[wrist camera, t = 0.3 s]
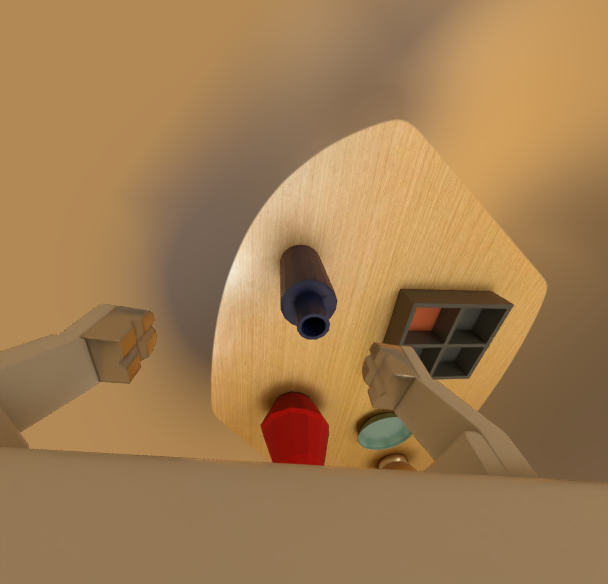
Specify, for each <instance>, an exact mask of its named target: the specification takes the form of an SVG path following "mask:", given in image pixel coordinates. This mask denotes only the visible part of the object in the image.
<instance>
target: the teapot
mask: <svg viewBox="0 0 608 584" xmlns="http://www.w3.org/2000/svg"><path fill="white" fill-rule="evenodd" d="M378 467H379V469H388V470H405V471H417V470H416V469H415V468H413V467H412V466H411V465H409V464H407V460H406V458H405V457H404V456H402V455H399V454H393V455H389V456H386V457H384V458H383V459H381V460H380V462H379V464H378Z"/></svg>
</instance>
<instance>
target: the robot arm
mask: <svg viewBox="0 0 608 584" xmlns="http://www.w3.org/2000/svg"><path fill="white" fill-rule="evenodd" d="M154 321H155V319H154V313H153V312H151V311H148V310H141V309H135V308H129V307H123V306H115V305H109V304H100V305H97V306H96V307H95V308H93V309H92V310H91V311H89V312H88V313H87V314H85V315H84V316H83V317H81V318H80V319H79V320H77V321H76V322H75V323H73V324H72V325H71V326H70V327H68V328H67V329H66V330H64V331H63V332H62V333H60V334H59V335H49V336H46V337H43V338H40V339H37V340H34V341H31V342H28V343H25V344H22V345H19V346H16V347H12V348H9V349H6V350H3V351H0V584H608V482H596V481H595V482H594V481H578V480H560V479H543V478H539V476H538V475H537V474H536V473H535V471H534V470H533V469H532V467H531V466H530V465H529V463H528V462H527V461H526V460H525V458H524V457H523V455H522V454H521V453H520V452H519V450H518V449H517V448H516V446H515V445H514V444H513V442H511V440H510V438H509V437H508V436H507V434H506V433H504V432H503V431H502V430H500V429H499V428H498V427H497V426H495V425H494V424H493V423H492V422H490V421H489V420H487V419H486V418H485V417H484V416H482V415H481V414H480V413H479V412H477V411H476V410H475V409H473V408H472V407H471V406H469V405H468V404H467V403H466V402H464V401H463V400H462V399H460V398H459V397H458V396H456V395H455V394H454V393H453V392H451V391H450V390H449V389H447V388H446V387H445V386H443V385H442V384H441V383H440V382H438V381H437V380H433V379H432V377H431V376H430V374H429V373H428V371H427V369H426V368H425V366H424V365H423V363H422V361H421V360H420V358H419V357H418V355H417V353H416V352H415V350H414V349H413V348H412V347H409V346H401V345H398V346H397V345H390V344H383V343H375V342H374V343H373V344H372V345H371V347H370V349H369V350H370V352H371V354H370V355H369V356H367V357H366V358H365V360H364V362H363V367H362V374H363V379H364V382H365V383H366V384H367V385H368V386H369V389H368V395H369V398H370V401H371V404H372V407H373V408H380V409H388V410H394V412H395V413H396V415H397V416H398V417H399V418H400V420H401V421H402V422H403V423H404V424H405V426H406V427H407V428H408V429H409V430H410V432H411V433H412V434H413V435H414V436H415V438H416V439H417V440H418V441H419V442H420V444H421V445H422V446H423V447H424V448H425V450H426V451H427V452H428V453H429V454H430V456H431V457H432V458H433V459H434V460H435V461H434V462H433V463H432V464H431V465H430V466H429V467H428V468H427V471H426V472H423V471H405V470H388V469H371V468H354V467H337V466H320V465H303V464H286V463H269V462H252V461H234V460H217V459H200V458H199V459H198V458H182V457H164V456H147V455H131V454H113V453H112V454H111V453H96V452H79V451H62V450H44V449H29V445H28V443H27V442H26V440H25V439H24V438H23V436H22V435H21V434H20V432H22V431H24V430H25V429H27V428H28V427H30V426H32V425H33V424H35V423H36V422H38V421H40V420H41V419H43V418H44V417H46V416H48V415H49V414H51V413H52V412H54V411H56V410H57V409H59V408H60V407H62V406H64V405H65V404H67V403H68V402H70V401H72V400H73V399H75V398H76V397H78V396H80V395H81V394H83V393H85V392H86V391H88V390H89V389H91V388H93V387H94V386H96V385H97V384H99V382H112V383H126V384H129V383H130V382H131V381H132V379H133V378H134V376H135V375H136V374H137V372H138V371H139V370H140V368H141V363H140V361H142V360H144V359H146V358H148V357H149V356H150V354H151V353H152V351H153V349H154V347H155V344H156V339H157V333H156V330H155V329H154V328H153V327H152V326H151V325H152V324H153V322H154Z"/></svg>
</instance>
